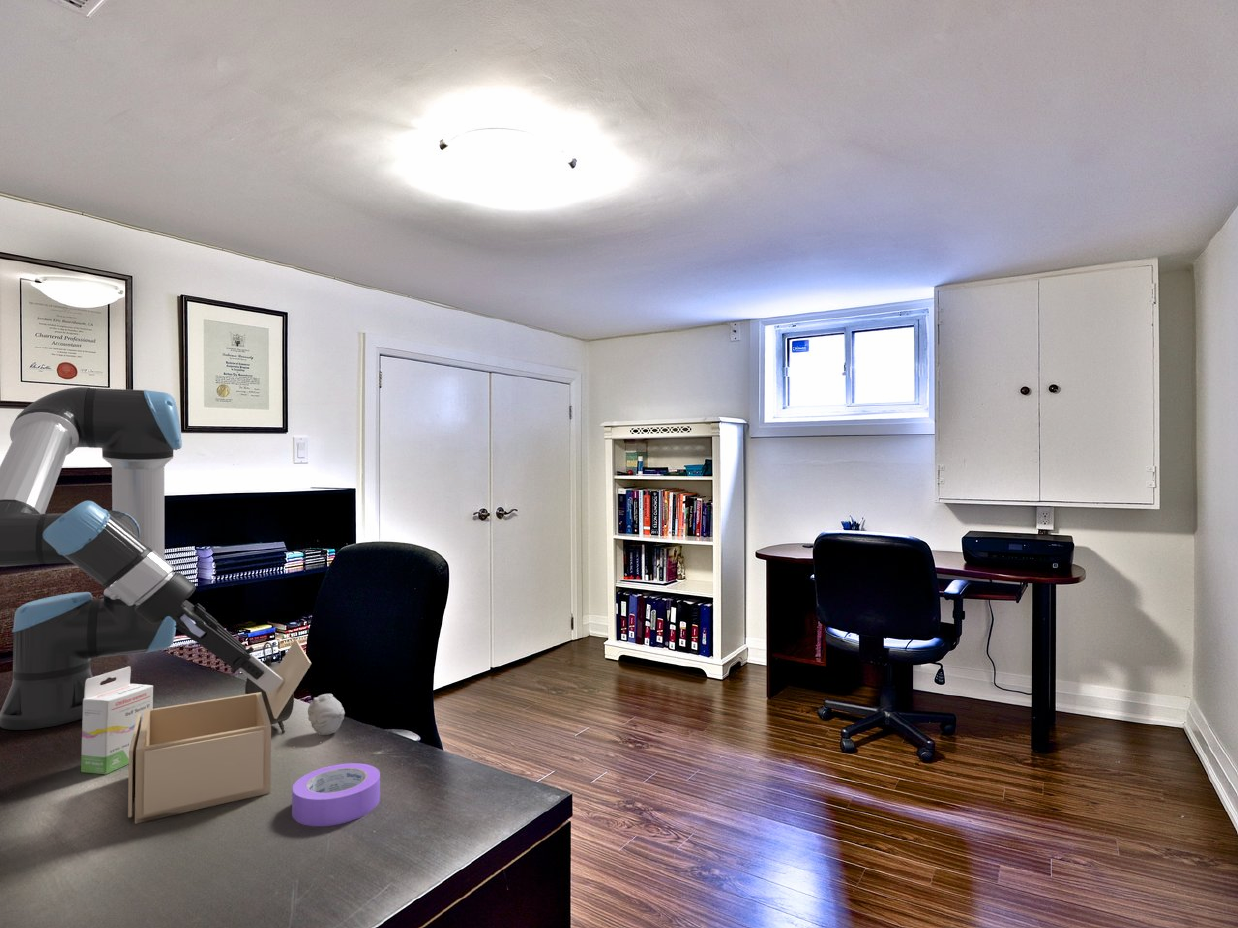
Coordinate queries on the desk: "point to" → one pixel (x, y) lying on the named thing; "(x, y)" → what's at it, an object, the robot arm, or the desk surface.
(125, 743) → the ink box
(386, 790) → the desk surface
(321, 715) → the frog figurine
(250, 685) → the alarm clock
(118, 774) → the desk surface
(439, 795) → the desk surface
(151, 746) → the carton
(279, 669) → the flap
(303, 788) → the masking tape
